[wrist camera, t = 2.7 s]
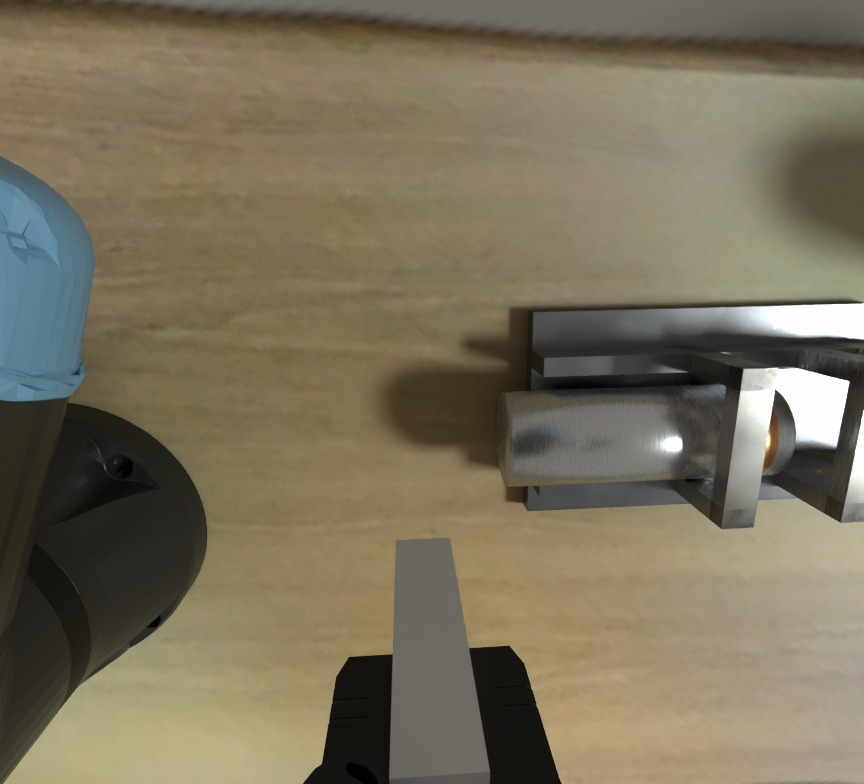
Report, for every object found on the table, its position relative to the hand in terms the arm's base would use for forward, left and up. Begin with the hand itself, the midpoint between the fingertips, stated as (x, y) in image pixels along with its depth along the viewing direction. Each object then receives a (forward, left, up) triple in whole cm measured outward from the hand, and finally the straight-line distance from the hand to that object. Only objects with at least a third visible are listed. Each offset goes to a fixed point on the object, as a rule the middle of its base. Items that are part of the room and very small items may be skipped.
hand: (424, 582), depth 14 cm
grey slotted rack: (+17, 0, -16) cm, 23 cm away
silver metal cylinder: (+12, 0, -15) cm, 19 cm away
